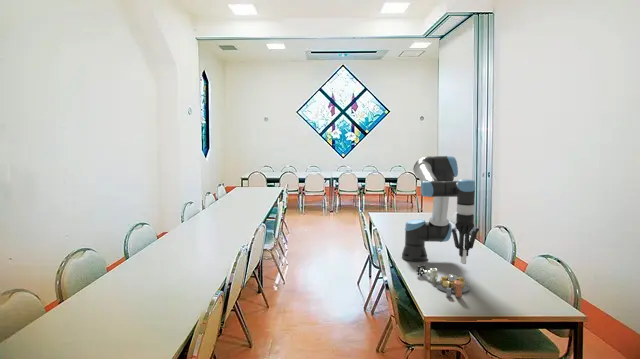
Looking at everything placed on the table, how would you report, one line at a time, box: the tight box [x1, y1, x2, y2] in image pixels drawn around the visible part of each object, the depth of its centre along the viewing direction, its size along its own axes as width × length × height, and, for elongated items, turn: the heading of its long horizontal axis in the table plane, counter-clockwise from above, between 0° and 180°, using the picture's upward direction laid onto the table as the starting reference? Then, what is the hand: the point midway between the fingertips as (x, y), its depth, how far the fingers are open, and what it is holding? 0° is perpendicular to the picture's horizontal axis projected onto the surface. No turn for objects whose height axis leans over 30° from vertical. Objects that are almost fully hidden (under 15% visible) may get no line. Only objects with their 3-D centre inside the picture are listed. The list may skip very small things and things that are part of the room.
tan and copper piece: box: [439, 273, 466, 298], centre depth 206 cm, size 20×11×6 cm, turn 174°
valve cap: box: [435, 273, 470, 295], centre depth 211 cm, size 16×16×6 cm
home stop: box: [445, 288, 452, 299], centre depth 200 cm, size 2×2×4 cm
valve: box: [415, 263, 439, 284], centre depth 223 cm, size 7×7×12 cm
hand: (463, 263), depth 197 cm, fingers closed
